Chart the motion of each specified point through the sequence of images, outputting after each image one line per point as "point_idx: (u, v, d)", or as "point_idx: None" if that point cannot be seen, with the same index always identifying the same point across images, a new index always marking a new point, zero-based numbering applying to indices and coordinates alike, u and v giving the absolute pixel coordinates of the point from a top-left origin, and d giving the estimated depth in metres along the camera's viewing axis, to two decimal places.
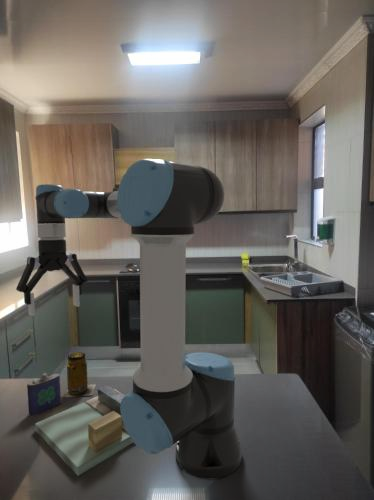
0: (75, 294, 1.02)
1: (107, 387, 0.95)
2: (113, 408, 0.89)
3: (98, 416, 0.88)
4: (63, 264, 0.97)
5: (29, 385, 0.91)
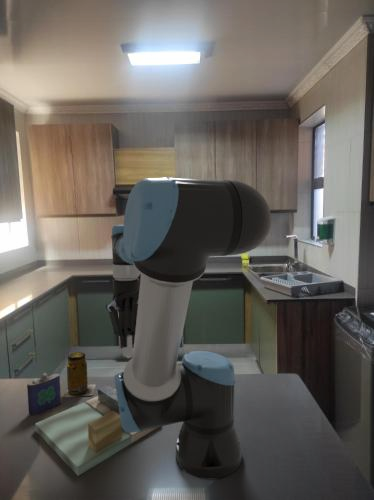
0: None
1: (107, 387, 0.95)
2: (113, 408, 0.89)
3: (98, 416, 0.88)
4: (133, 305, 0.96)
5: (29, 385, 0.91)
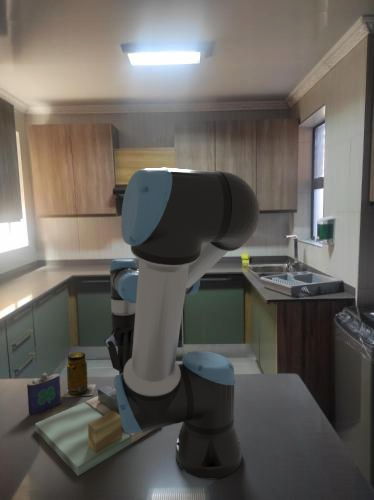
0: None
1: (107, 387, 0.95)
2: (113, 408, 0.89)
3: (98, 416, 0.88)
4: (132, 338, 0.96)
5: (29, 385, 0.91)
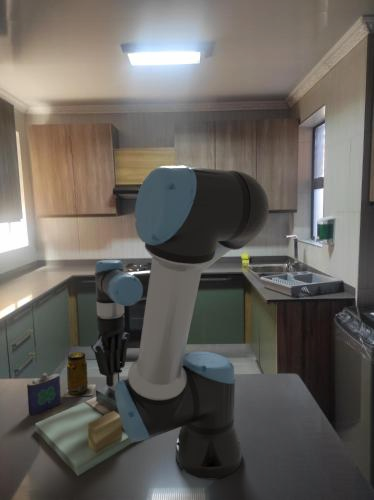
0: None
1: (105, 388, 0.95)
2: (113, 408, 0.89)
3: (98, 416, 0.88)
4: (119, 342, 0.93)
5: (29, 385, 0.91)
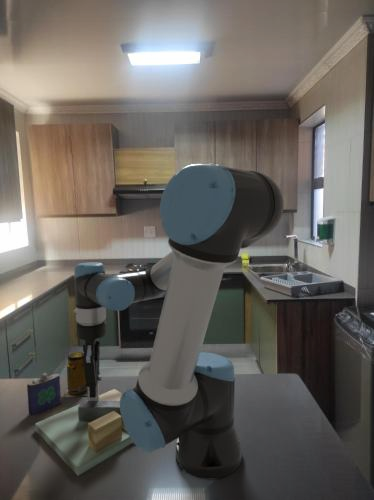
0: None
1: (86, 402, 0.87)
2: None
3: None
4: (99, 348, 0.89)
5: (29, 385, 0.91)
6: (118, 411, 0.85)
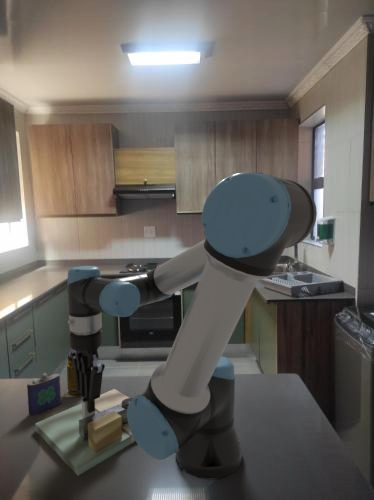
0: None
1: (85, 419, 0.80)
2: None
3: None
4: None
5: (29, 385, 0.91)
6: (123, 414, 0.84)
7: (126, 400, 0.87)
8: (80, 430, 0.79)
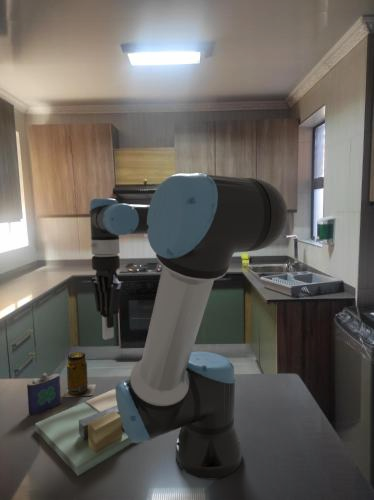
0: None
1: (85, 419, 0.80)
2: None
3: None
4: None
5: (29, 385, 0.91)
6: None
7: None
8: (80, 430, 0.79)
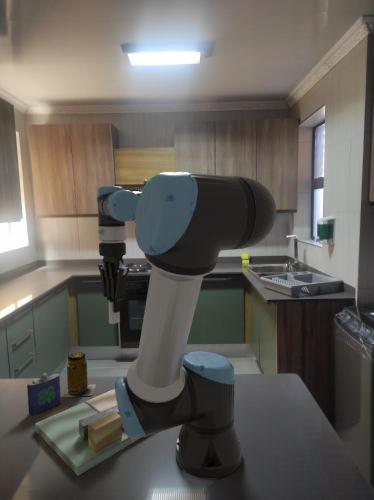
0: None
1: (85, 419, 0.80)
2: None
3: None
4: None
5: (29, 385, 0.91)
6: None
7: None
8: (80, 430, 0.79)
